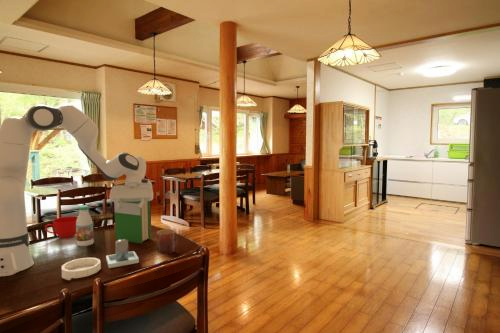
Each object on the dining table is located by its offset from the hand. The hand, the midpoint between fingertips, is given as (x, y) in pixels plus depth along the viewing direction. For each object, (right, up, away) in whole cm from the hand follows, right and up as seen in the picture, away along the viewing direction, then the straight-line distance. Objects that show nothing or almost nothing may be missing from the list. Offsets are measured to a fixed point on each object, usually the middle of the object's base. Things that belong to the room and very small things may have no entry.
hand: (129, 207), depth 150 cm
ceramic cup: (-46, -20, +24) cm, 55 cm away
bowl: (-12, -24, -21) cm, 34 cm away
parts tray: (+1, -23, -10) cm, 25 cm away
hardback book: (-6, -20, +22) cm, 30 cm away
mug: (+16, -22, +3) cm, 27 cm away
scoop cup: (+1, -22, -10) cm, 25 cm away
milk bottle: (-28, -21, +14) cm, 38 cm away
